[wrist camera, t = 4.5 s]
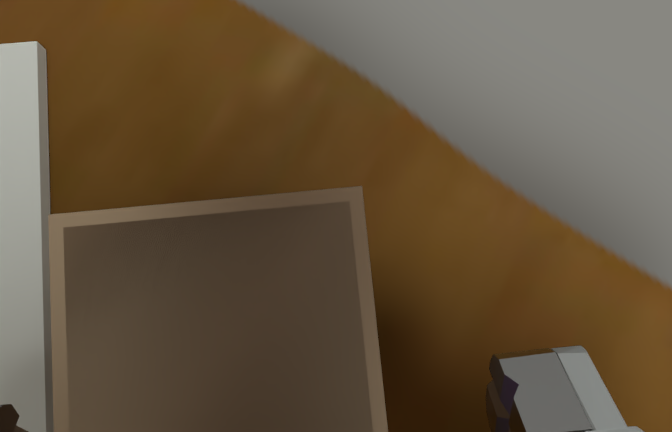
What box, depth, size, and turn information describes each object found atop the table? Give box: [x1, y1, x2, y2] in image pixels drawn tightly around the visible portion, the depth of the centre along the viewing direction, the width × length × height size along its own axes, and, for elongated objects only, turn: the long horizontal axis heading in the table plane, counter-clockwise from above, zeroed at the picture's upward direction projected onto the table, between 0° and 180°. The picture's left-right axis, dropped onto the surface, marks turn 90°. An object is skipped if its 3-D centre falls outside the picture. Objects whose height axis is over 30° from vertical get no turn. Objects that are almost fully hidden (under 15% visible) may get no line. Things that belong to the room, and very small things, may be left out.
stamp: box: [48, 186, 388, 432], centre depth 13 cm, size 5×5×9 cm
